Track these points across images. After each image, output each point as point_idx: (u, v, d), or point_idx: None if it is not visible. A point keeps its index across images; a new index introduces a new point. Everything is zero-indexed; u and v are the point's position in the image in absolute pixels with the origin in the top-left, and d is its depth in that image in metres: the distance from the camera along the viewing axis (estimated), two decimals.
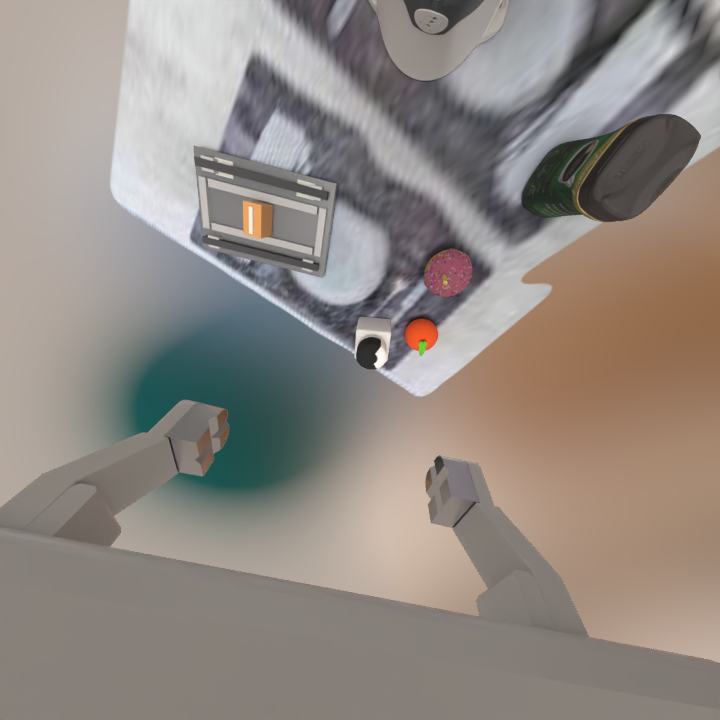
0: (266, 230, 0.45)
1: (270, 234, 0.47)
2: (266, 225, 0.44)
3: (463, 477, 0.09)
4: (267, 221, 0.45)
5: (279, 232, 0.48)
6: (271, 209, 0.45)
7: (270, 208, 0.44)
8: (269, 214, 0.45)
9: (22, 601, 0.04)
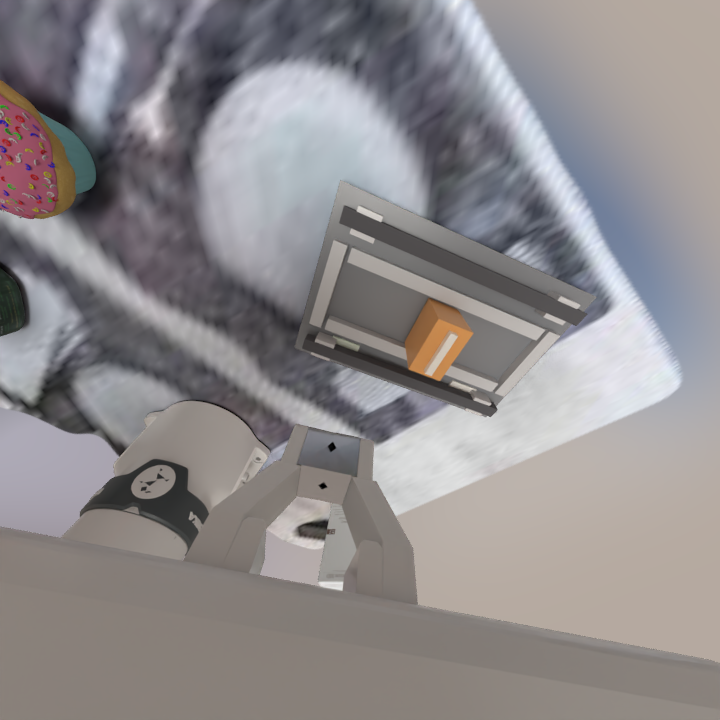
0: (427, 317, 0.22)
1: (428, 302, 0.23)
2: (422, 328, 0.22)
3: (349, 452, 0.09)
4: (418, 329, 0.23)
5: (411, 298, 0.24)
6: (408, 339, 0.25)
7: (407, 342, 0.25)
8: (412, 336, 0.24)
9: (22, 601, 0.04)
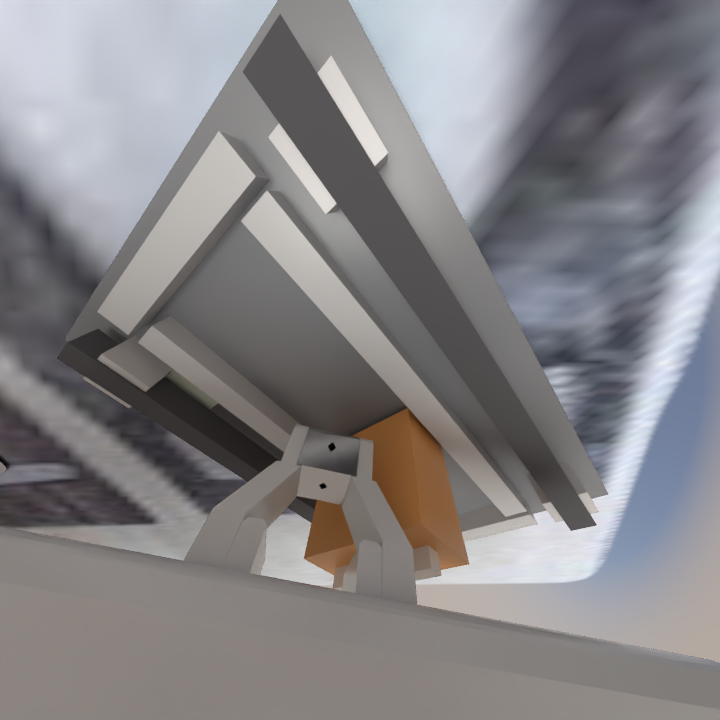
0: (390, 462, 0.10)
1: (404, 421, 0.11)
2: None
3: (349, 452, 0.09)
4: None
5: (358, 371, 0.11)
6: None
7: None
8: None
9: (22, 601, 0.04)
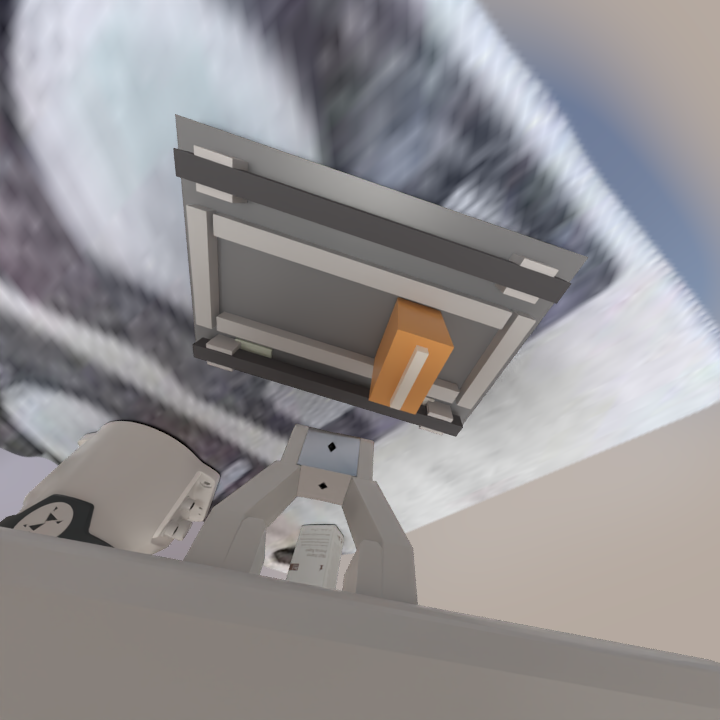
0: (391, 326, 0.15)
1: (396, 304, 0.16)
2: (386, 341, 0.16)
3: (349, 453, 0.09)
4: (384, 342, 0.16)
5: (319, 281, 0.17)
6: (377, 354, 0.19)
7: (375, 359, 0.18)
8: (379, 350, 0.18)
9: (22, 601, 0.04)
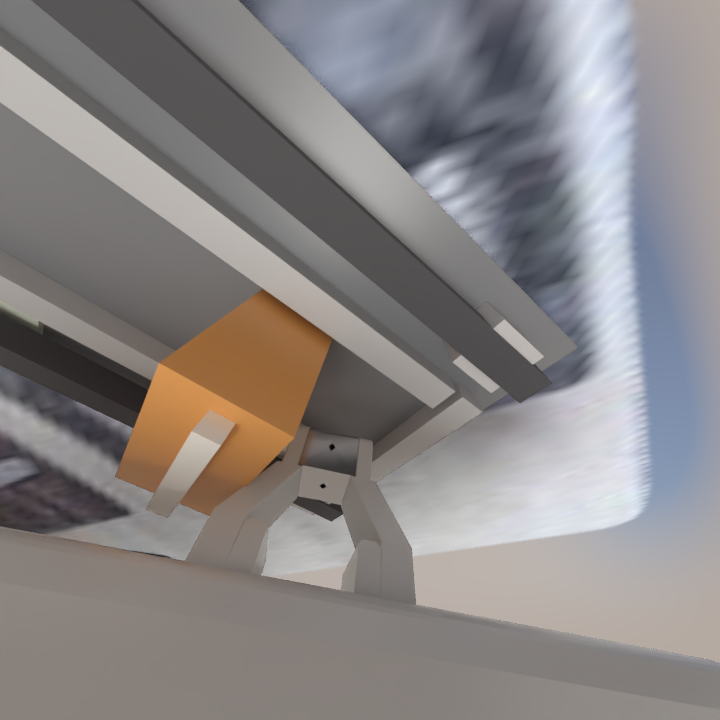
0: None
1: None
2: None
3: (348, 452, 0.09)
4: None
5: (142, 220, 0.09)
6: None
7: None
8: None
9: (22, 601, 0.04)
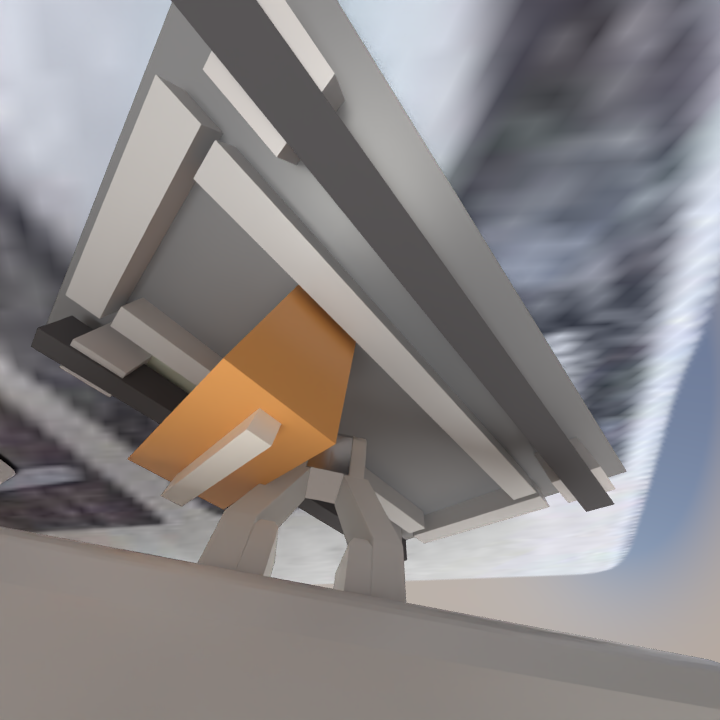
0: None
1: None
2: None
3: (342, 451, 0.09)
4: None
5: None
6: None
7: None
8: None
9: (22, 601, 0.04)
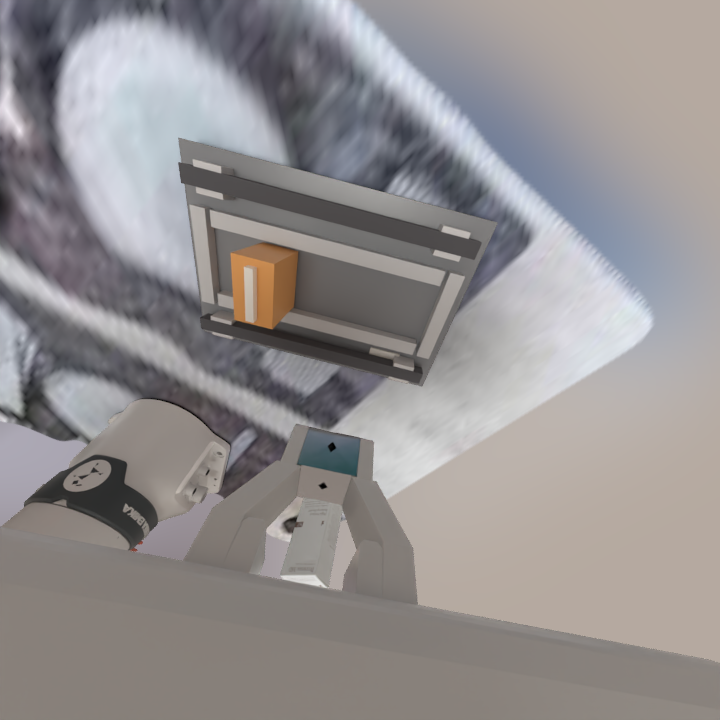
0: None
1: None
2: None
3: (349, 452, 0.09)
4: None
5: None
6: None
7: None
8: None
9: (22, 601, 0.04)
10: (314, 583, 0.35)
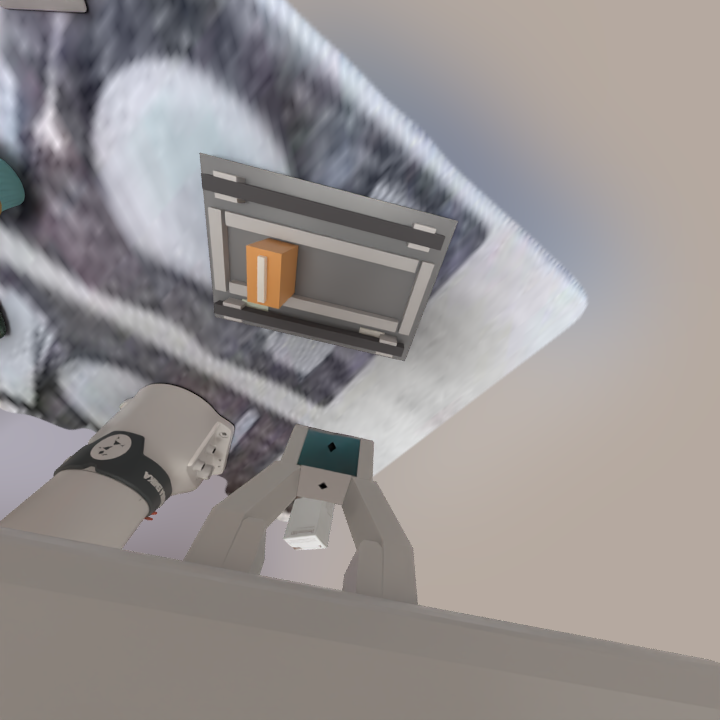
0: None
1: None
2: None
3: (349, 453, 0.09)
4: None
5: None
6: None
7: None
8: None
9: (22, 601, 0.04)
10: (314, 544, 0.39)
